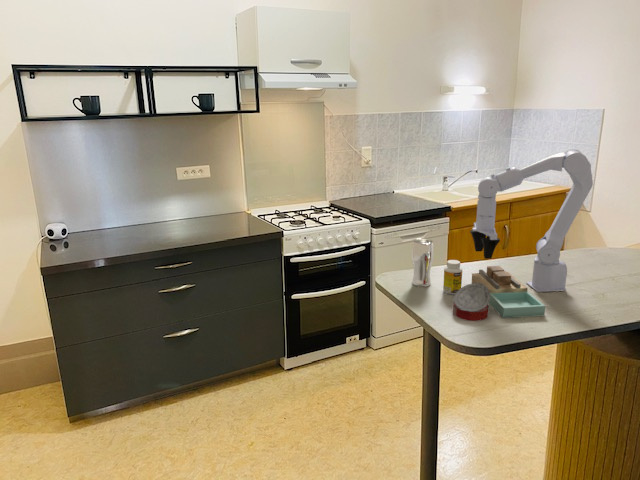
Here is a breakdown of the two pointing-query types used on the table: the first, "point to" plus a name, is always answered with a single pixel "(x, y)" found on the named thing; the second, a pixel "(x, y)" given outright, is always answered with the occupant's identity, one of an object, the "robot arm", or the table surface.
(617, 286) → the table surface
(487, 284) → the slot deck
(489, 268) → the brown block
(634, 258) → the table surface
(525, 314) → the tray
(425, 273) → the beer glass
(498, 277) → the block
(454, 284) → the supplement bottle
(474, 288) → the canned food
